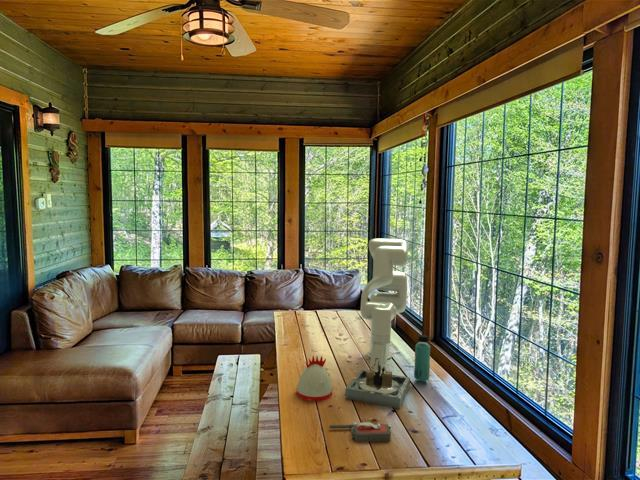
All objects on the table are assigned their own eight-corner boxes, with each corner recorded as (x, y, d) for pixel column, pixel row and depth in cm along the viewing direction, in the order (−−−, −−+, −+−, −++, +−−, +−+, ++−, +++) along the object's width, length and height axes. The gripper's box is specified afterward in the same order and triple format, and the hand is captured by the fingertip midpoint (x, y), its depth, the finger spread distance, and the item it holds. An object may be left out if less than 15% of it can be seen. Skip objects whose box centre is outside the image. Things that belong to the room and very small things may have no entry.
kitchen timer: (335, 400, 167) (336, 361, 166) (299, 402, 165) (299, 363, 163) (328, 385, 181) (329, 349, 179) (295, 386, 178) (295, 350, 177)
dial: (398, 380, 181) (398, 366, 181) (400, 397, 165) (401, 381, 165) (359, 377, 183) (359, 363, 183) (357, 393, 167) (358, 378, 167)
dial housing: (360, 378, 188) (360, 368, 188) (409, 387, 180) (410, 377, 180) (345, 398, 169) (345, 387, 168) (399, 408, 161) (400, 397, 161)
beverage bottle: (430, 380, 188) (432, 334, 187) (428, 386, 182) (430, 338, 180) (414, 377, 190) (416, 332, 189) (412, 383, 184) (414, 336, 182)
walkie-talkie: (388, 428, 148) (329, 428, 146) (388, 415, 147) (329, 416, 146) (394, 442, 139) (331, 443, 138) (395, 429, 139) (331, 429, 137)
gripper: (376, 331, 182) (375, 374, 183) (365, 342, 166) (364, 389, 168) (394, 333, 179) (393, 377, 181) (385, 345, 164) (383, 393, 165)
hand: (379, 382), depth 174 cm, fingers closed on dial, 3 cm apart
